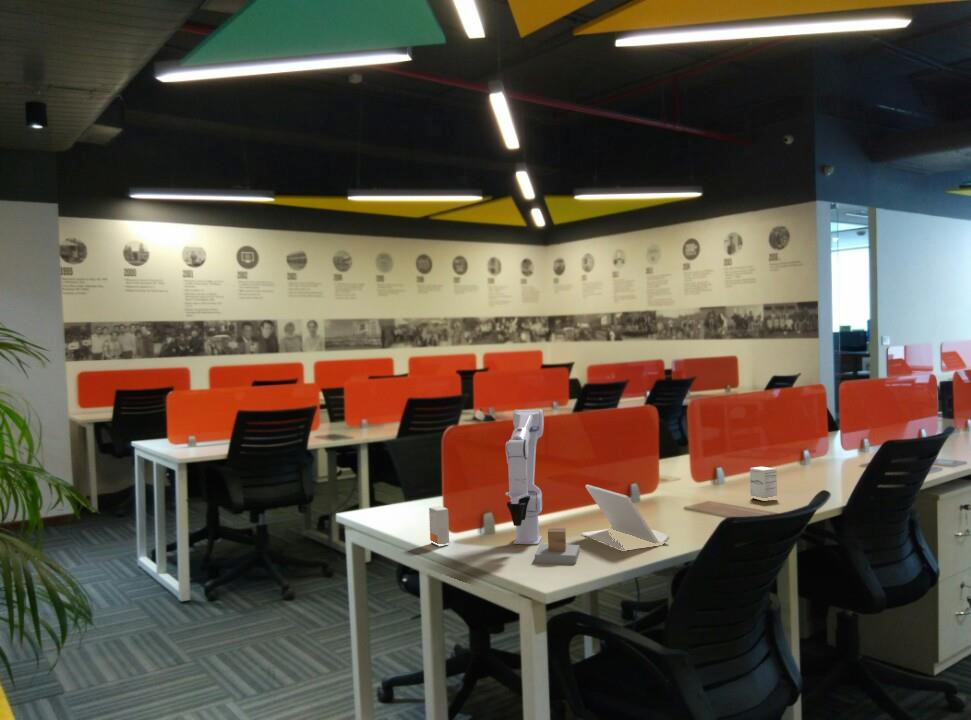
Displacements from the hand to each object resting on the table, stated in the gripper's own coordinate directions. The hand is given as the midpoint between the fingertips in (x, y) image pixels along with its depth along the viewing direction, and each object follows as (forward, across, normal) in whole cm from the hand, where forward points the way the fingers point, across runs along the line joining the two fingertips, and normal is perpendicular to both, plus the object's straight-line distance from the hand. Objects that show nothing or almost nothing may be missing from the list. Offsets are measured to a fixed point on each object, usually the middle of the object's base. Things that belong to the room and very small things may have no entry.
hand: (519, 522), depth 235 cm
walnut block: (+7, +4, +12) cm, 14 cm away
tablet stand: (+10, -20, +31) cm, 38 cm away
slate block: (+10, +4, +12) cm, 16 cm away
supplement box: (+10, -86, +83) cm, 120 cm away
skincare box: (+10, -8, -28) cm, 31 cm away
